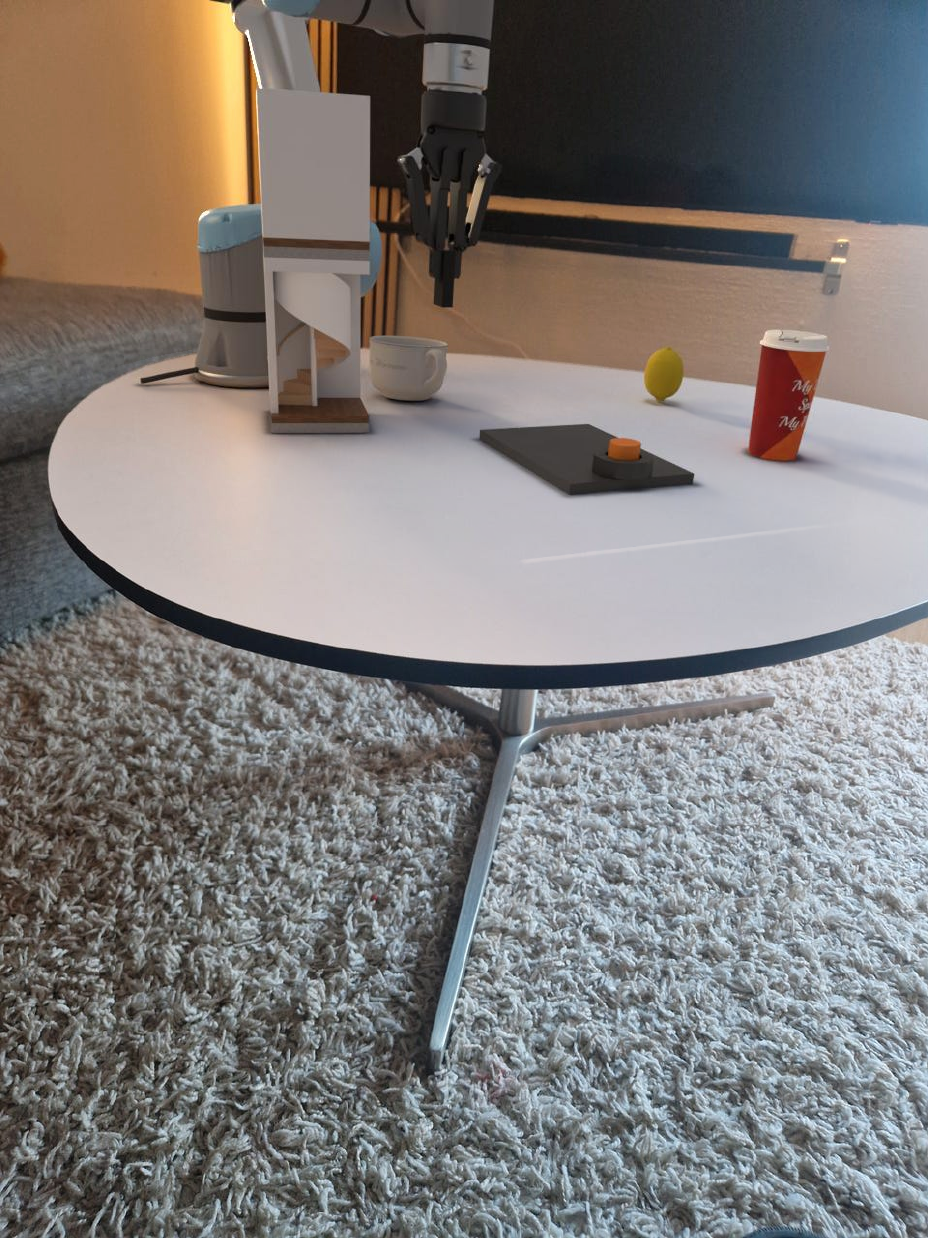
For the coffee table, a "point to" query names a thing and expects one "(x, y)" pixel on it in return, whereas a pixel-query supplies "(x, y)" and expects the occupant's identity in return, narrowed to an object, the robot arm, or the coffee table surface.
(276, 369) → the spiral staircase model
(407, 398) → the teacup
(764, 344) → the paper cup
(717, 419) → the coffee table surface
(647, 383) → the lemon
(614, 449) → the button
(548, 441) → the scale
